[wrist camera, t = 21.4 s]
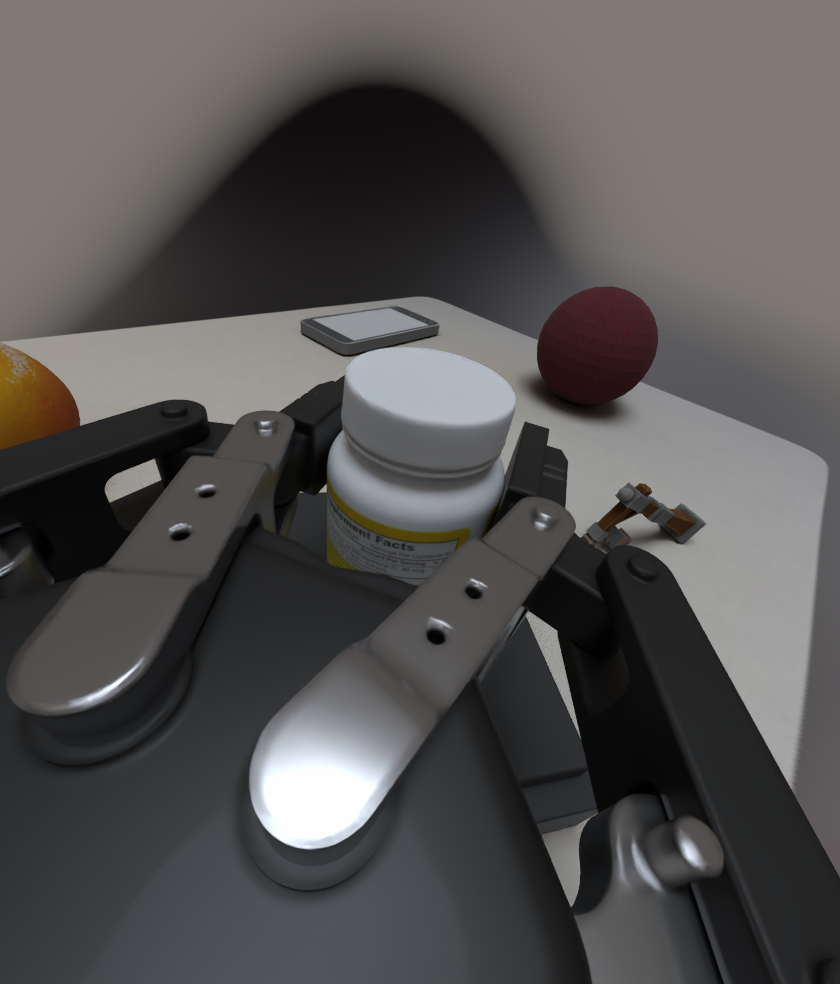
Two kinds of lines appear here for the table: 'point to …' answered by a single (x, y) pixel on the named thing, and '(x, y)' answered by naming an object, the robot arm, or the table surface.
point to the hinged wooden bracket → (637, 501)
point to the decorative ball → (597, 345)
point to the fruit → (31, 400)
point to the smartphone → (368, 329)
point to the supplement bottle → (415, 460)
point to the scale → (510, 708)
